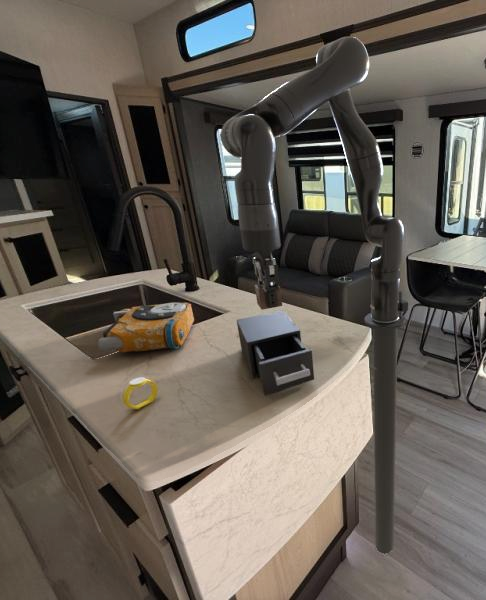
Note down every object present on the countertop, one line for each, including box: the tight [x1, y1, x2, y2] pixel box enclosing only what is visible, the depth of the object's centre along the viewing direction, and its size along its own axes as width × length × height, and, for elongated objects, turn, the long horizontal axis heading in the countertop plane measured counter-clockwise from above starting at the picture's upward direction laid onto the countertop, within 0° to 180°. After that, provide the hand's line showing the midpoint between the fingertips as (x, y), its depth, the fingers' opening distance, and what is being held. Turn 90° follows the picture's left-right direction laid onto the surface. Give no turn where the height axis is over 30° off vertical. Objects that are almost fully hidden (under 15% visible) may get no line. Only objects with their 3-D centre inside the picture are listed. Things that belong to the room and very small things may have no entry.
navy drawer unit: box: [236, 310, 302, 378], centre depth 85 cm, size 16×13×10 cm
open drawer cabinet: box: [251, 334, 315, 396], centre depth 75 cm, size 19×11×8 cm, turn 32°
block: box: [254, 282, 283, 310], centre depth 71 cm, size 4×4×4 cm
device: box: [97, 302, 195, 353], centre depth 96 cm, size 23×8×30 cm
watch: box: [122, 376, 159, 410], centre depth 67 cm, size 6×3×6 cm, turn 158°
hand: (269, 303), depth 71 cm, fingers closed on block, 4 cm apart
